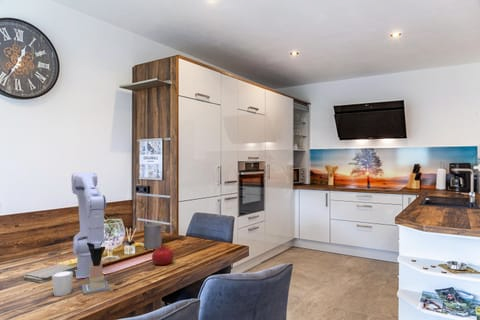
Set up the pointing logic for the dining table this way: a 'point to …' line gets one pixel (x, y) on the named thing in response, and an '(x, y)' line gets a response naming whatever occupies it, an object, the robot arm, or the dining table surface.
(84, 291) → the base plate
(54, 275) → the grey cylinder
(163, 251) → the pomegranate
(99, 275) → the top block
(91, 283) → the base block
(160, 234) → the pillar candle
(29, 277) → the washcloth
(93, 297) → the dining table surface
